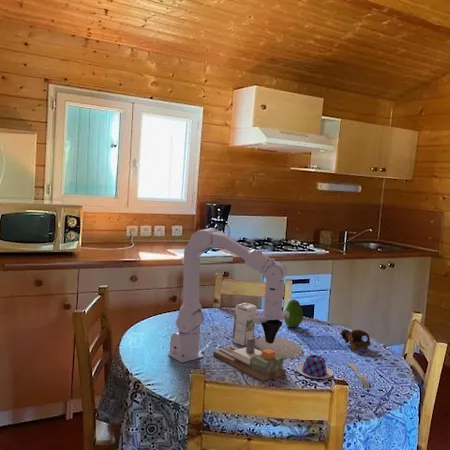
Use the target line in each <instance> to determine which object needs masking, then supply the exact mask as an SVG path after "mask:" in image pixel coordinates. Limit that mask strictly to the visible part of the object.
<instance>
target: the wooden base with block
mask: <svg viewBox="0 0 450 450" xmlns="http://www.w3.org/2000/svg"><path fill="white" fill-rule="evenodd" d="M237 349H241V348H240V347H238V346H236V345H230V346H229V347H224V348H218V349H217V350H213V352H212V356H214V357H216V358H217V359H220V360H222V361H224V363H227V364H229V365H231V366H233V367H235V368H237V369H239V370H240V371H243V372H245V373H247V374H249V375H250V376H253V377H254V378H256V379H258V380H260V381H261V382H262V381H263V382H267V381H269V380H271V379H274V378H278V377H281V376H283V375H286V368H283V367H284V357H283V356H281V355H278V354H276V353H275V359H271V360H267V359H264V358H262V357H261V355H262V354H259V355H256V356H253V357H252V364H250V365H249V364H247V363H245V362H243V361H241V360H239V359H237V358H235V357H233V350H237Z"/></svg>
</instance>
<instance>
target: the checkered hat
mask: <svg viewBox="0 0 450 450" xmlns="http://www.w3.org/2000/svg"><path fill="white" fill-rule="evenodd" d="M326 365H327V364H326V360H325V358H324V357H323V356H322V355H317V354H309V355H307V356H306V358H305V360H304V363H301V364H298V365H296V368H295V369H296V371H297V372H298V374H301V375H303V376H306V377H308V378H312V379H322V380H323V379H328V378H332V377H333V375H334V372H333V370H331V369H330V368H329V367H327V366H326Z"/></svg>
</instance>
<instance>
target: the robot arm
mask: <svg viewBox="0 0 450 450" xmlns="http://www.w3.org/2000/svg"><path fill="white" fill-rule="evenodd" d="M219 248H220V249H224V250H226V251H228V252H230V253H232V254H234V255H236V256H237V257H239V258H241V259H242V260H244V262H245V265H246V266H247V267H249V268H251V269H252V270H254V271H255V272H256V273H259V274H260V275H262V276H264V278H265V280H266V282H265V286H264V287H265V288H264V289H265V290H264V299H263V311H262V312H261V313H260V314H258V315H256V316H255V317H254V320H253V323H255V325H260V324H261V327H262V329H263V332H264V333H263V334H264V338H265V342H266V343H267V344H269V345H272V344H274V342H275V338H276V336H277V334H278V332H279V330H280V329H281V327H282V325H283V321H282V320H283V319H284V318H289V312H288V311H285V310H282V309H283V300H284V299H283V298H284V290H285V287H284V285H285V278H286V276H287V274H288V268H287V267H286V265H285V264H284V263H283V262H282V261H276V259H275V258H273V257H272V258H271V257H269V256H267V255H266V254H264V253H263V250H261V249H258V250H257V249H251V250H250V249H249V248H247V247H245V246H244V245H242V244H240V242H237V241H236V240H235V239H233V238H232V237H230V236H229V235H227V234H226V233H225V232H223V231H221V230H218V229H217V228H214V227H209V228H205V229H199V230H197V231H196V232H194V233H193V234H191V236H190V239H189V241H188V242H187V244H186V246H185V247H184V250H183V283H182V285H183V286H182V290H183V292H182V293H183V294H182V304H181V306H180V308H179V310H178V316H177V318H176V321H175V324H176V325H175V326H176V328H177V329H178V330H176V332H174V333H172V334H171V336H170V339H169V340H170V341H169V342H170V343H169V353H167V355H168V356H170V357H171V358H173V359H174V360H176V361H178V362H180V363H185V362H189V361H193V360H197V359H201V358H205V356H204V355H203V354H201V353H199V350H200V337H201V336H200V335H201V325H202V324H203V322H204V321H205V316H204V313H203V311H202V304H201V302H200V277H201V276H200V271H201V270H200V269H201V268H200V267H201V256H202V255H203V254H204V253H205V252H206V251H208V250H209V249H219Z"/></svg>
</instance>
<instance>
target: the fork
mask: <svg viewBox="0 0 450 450" xmlns="http://www.w3.org/2000/svg"><path fill="white" fill-rule="evenodd" d="M346 364H347V365H348V367H350V368H351V369H352V370H353V371H354V373H355V374H356V377H358V378H359V380H360V384H361V386H362V387H363V386H364V387H366V388H368V387H369V388H370V383H369V380H368V376H366V375H361V374H360V373H359V371H358V368H357V366H356V364H355V363H353V362H352V363H351V362H347V363H346Z"/></svg>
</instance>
